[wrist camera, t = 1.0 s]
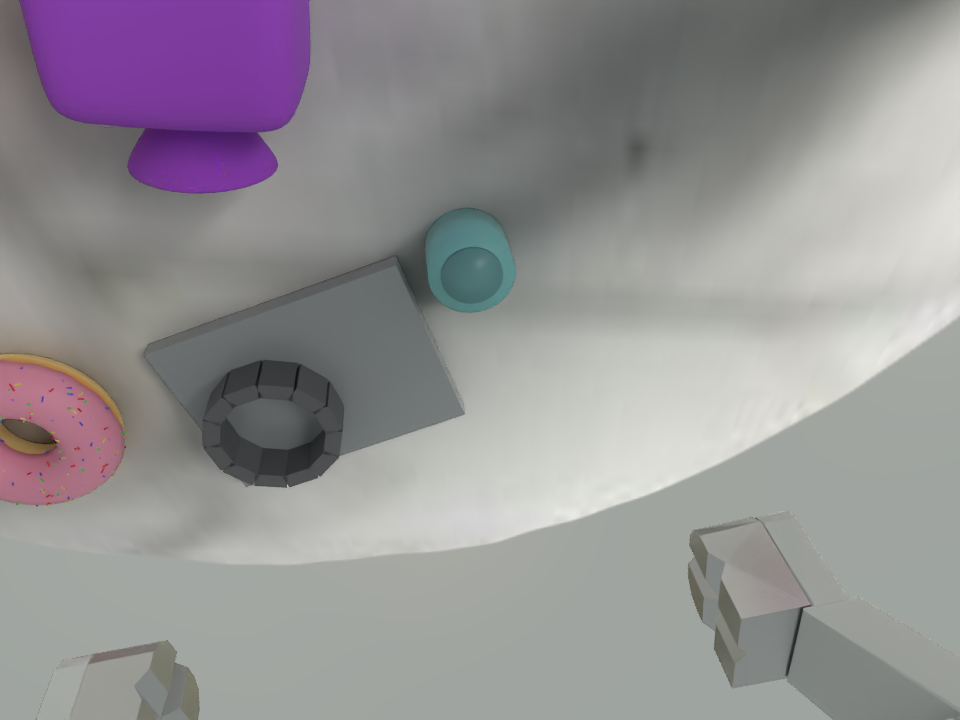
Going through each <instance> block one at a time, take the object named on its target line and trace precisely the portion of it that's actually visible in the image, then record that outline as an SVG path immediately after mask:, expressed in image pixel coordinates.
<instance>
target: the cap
mask: <svg viewBox="0 0 960 720" xmlns="http://www.w3.org/2000/svg"><path fill="white" fill-rule="evenodd" d="M425 256H426V265H427V274H428V281H429V286H430V289H431V291H432V293H433V294H434V296H435V297H436V298H437V299H438V301H439V302H441V303H442V304H443V305H445V306H446V307H448V308H450V309H453V310H456V311H459V312H468V313H470V312H479V311H483V310H486V309H489V308H491V307H493V306H495V305H496V304H498V303H499V302H500V301H501V300H503V299H504V298H505V296H506V295H507V294H508V293H509V291H510V290H511V288H512V286H513V283H514V279H515V264H514V260H513V257H512V254H511V251H510V248H509V245H508V242H507V239H506V236H505V233H504V230H503V228H502V227H501V225H500V224H499V222H498V221H497V220H496V219H495V218H494V217H493V216H491V215H490V214H488V213H486V212H484V211H481V210H478V209H471V208H463V209H457V210H453V211H451V212H448V213H446V214H445V215H443V216H441V217H440V218H439V219H438V220H437V221H436V222H435V223H434V224H433V225H432V226H431V228H430V230H429V231H428V234H427V236H426V240H425Z"/></svg>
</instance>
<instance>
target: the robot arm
mask: <svg viewBox="0 0 960 720" xmlns="http://www.w3.org/2000/svg"><path fill="white" fill-rule="evenodd" d="M689 546H690V548H691V550H692V552H693V554H694V556H695V557H694V558H693V559H692V560H691V561H690V562H689V563H688V579H689V584H690V589H691V594H692V597H693V600H694V603H695V606H696V609H697V611H698V613H699V616H700V618H701V620H702V622H703V623H704V624H706V625H707V626H708V627H710V628H711V629H713V630H714V631H715V641H714V650H715V652H716V654H717V656H718V658H719V661H720V663H721V665H722V667H723V670H724V672H725V674H726V676H727V678H728V681H729V682H730V685H731V687H732V688H737V687H742V686H748V685H753V684H758V683H763V682H769V681H775V680H779V679H785V678H788V679H787V682H788V683H790V684H791V685H792V686H793V687H794V688H796V689H797V690H798V691H799V692H800V693H802V694H803V695H804V696H805V697H806V698H808V699H809V700H810V701H811V702H812V703H814V704H815V705H816V706H817V707H818V708H819V709H821V710H822V711H823V712H824V713H826V714H827V715H828V716H829V717H830V718H832V719H833V720H960V657H959V656H957V655H955V654H954V653H952V652H951V651H949V650H947V649H945V648H944V647H942V646H940V645H939V644H937V643H935V642H934V641H932V640H930V639H929V638H927V637H925V636H924V635H922V634H920V633H919V632H917V631H915V630H914V629H912V628H910V627H909V626H907V625H905V624H903V623H902V622H900V621H899V620H897V619H895V618H894V617H892V616H890V615H888V614H887V613H885V612H883V611H882V610H880V609H878V608H877V607H875V606H873V605H872V604H870V603H868V602H867V601H865V600H863V599H861V598H860V597H854V598H848V596H847V595H846V593H845V592H844V590H843V589H842V587H841V586H840V584H839V583H838V581H837V580H836V578H835V577H834V575H833V574H832V572H831V571H830V569H829V568H828V566H827V564H826V563H825V561H824V560H823V558H822V557H821V555H820V554H819V552H818V551H817V549H816V548H815V546H814V545H813V543H812V542H811V540H810V539H809V537H808V536H807V534H806V533H805V531H804V530H803V528H802V527H801V525H800V524H799V522H798V521H797V519H796V518H795V516H794V515H792V514H791V513H790V512H788V511H781V512H777V513H772V514H768V515H764V516H759V517H755V518H753V517H750V518H745V519H741V520H737V521H732V522H727V523H723V524H718V525H714V526H709V527H705V528H700V529H696V530H693V531H692V533H691V534H690V543H689ZM176 654H177V651H176V650H175V649H174V647H173V646H172V645H171V644H170V643H169V641H168V640H166V641H160V642H156V643H150V644H144V645H139V646H134V647H129V648H123V649H118V650H113V651H107V652H102V653H96V654H91V655H86V656H81V657H76V658H72V659H67V660H63V661H62V662H61V663H60V664H59V666H58V667H57V668H56V669H55V671H54V672H53V674H52V677H51V680H50V682H49V685H48V688H47V690H46V693H45V696H44V698H43V701H42V704H41V707H40V709H39V712H38V715H37V717H36V720H198V715H199V710H200V709H199V689H198V686H197V683H196V680H195V677H194V675H193V674H192V673H191V671H190V669H189V668H188V667H185V666H183V665H180V664H177V663H175V658H176Z"/></svg>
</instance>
